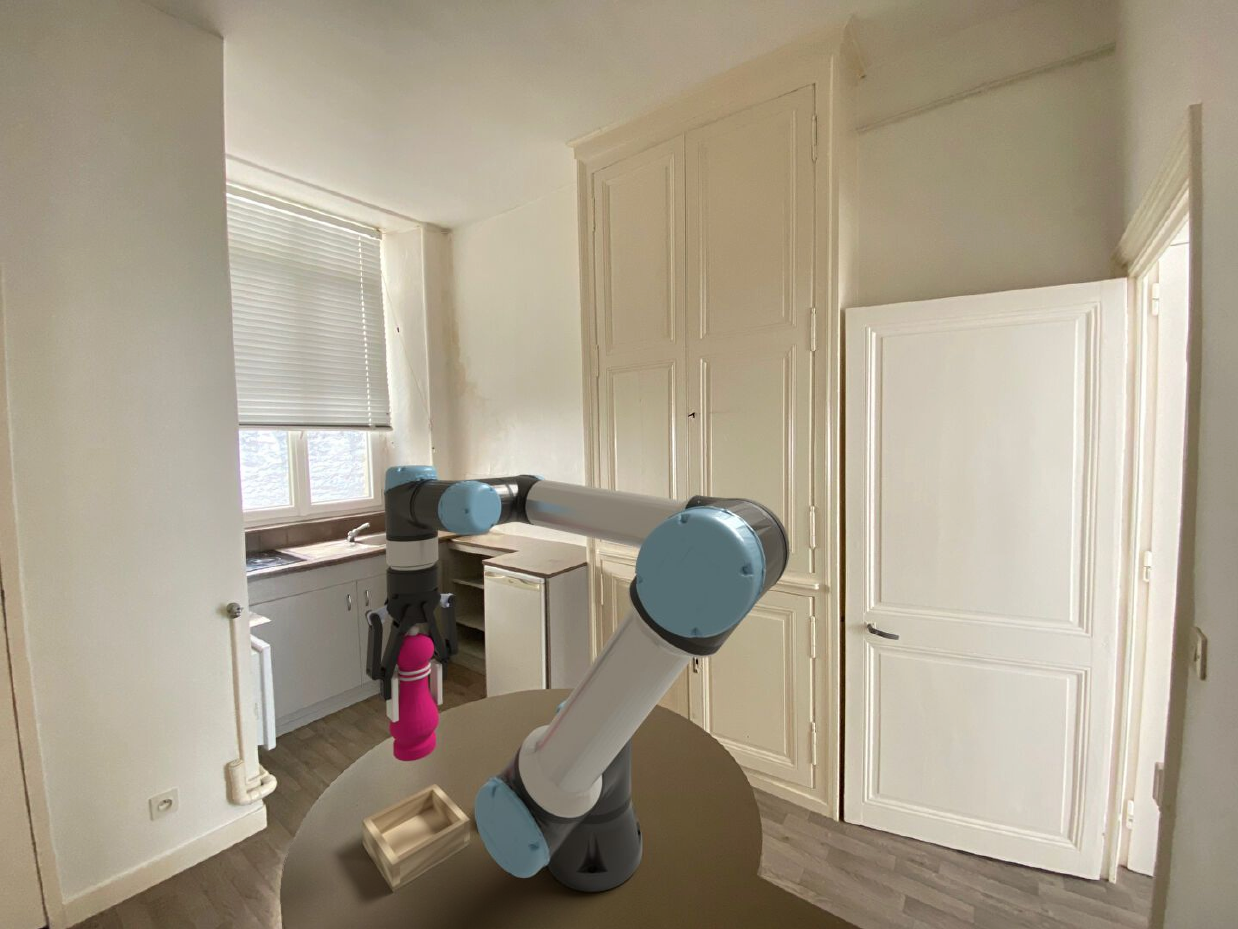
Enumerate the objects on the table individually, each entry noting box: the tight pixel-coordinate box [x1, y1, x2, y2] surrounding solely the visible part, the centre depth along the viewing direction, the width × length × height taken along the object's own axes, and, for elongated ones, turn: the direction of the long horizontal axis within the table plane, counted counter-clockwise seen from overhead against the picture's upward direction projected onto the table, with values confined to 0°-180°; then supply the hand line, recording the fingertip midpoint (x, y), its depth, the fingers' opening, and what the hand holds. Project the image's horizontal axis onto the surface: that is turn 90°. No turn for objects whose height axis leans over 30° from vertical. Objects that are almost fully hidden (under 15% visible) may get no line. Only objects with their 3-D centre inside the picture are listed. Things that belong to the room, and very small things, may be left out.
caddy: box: [362, 783, 471, 893], centre depth 79 cm, size 12×12×4 cm
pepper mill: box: [389, 624, 440, 762], centre depth 78 cm, size 7×7×20 cm
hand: (415, 709), depth 78 cm, fingers closed on pepper mill, 6 cm apart
